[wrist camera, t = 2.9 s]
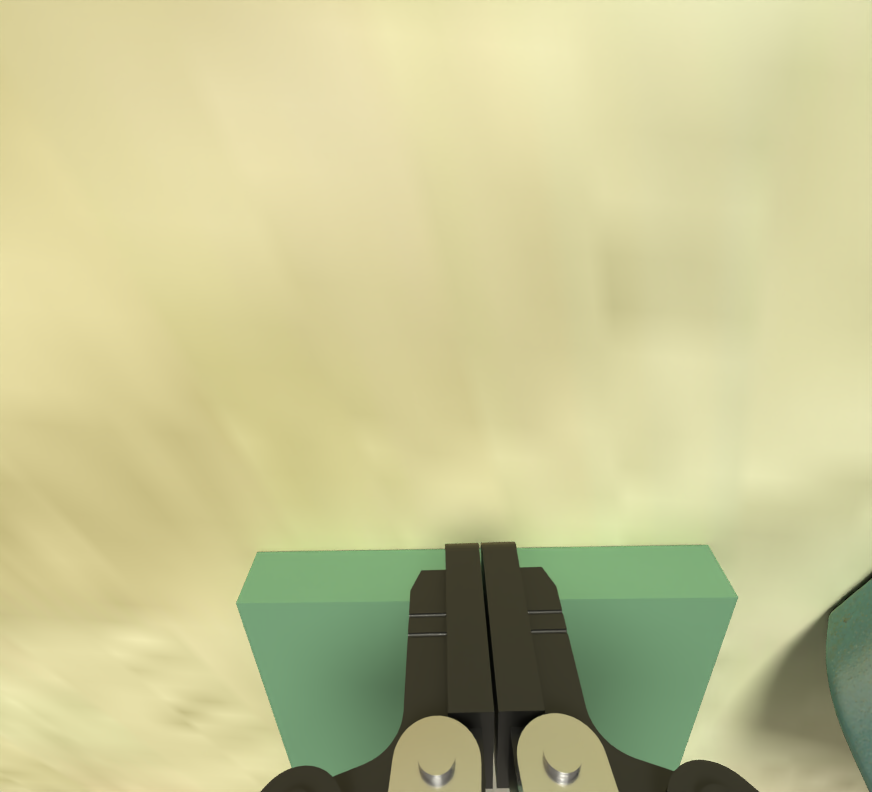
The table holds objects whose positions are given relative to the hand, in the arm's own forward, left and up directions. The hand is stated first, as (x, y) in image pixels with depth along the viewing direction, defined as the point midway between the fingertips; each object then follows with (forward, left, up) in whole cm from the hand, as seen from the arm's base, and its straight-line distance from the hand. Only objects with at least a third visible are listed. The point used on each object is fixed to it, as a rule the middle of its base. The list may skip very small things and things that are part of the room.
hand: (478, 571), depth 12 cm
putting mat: (0, +18, -7) cm, 19 cm away
